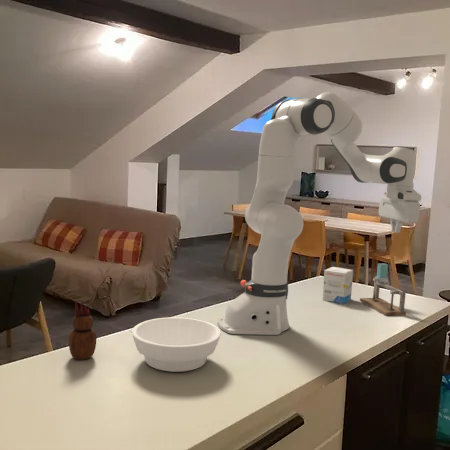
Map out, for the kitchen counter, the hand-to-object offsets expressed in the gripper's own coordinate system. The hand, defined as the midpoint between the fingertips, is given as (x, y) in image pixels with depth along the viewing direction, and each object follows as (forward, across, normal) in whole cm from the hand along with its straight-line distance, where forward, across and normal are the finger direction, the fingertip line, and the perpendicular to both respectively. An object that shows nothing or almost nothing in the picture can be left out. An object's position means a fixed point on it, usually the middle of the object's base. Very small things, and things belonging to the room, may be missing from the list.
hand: (395, 232), depth 192 cm
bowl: (+29, +38, -84) cm, 97 cm away
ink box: (+28, -12, -14) cm, 34 cm away
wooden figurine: (+29, +32, -107) cm, 116 cm away
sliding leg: (+26, -7, -1) cm, 27 cm away
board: (+28, 0, -2) cm, 28 cm away
